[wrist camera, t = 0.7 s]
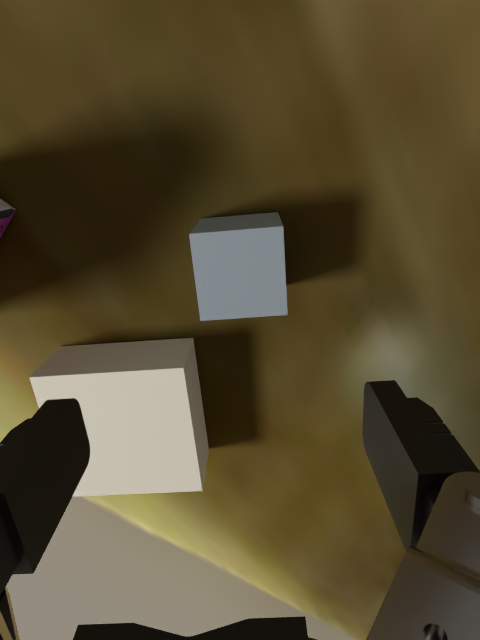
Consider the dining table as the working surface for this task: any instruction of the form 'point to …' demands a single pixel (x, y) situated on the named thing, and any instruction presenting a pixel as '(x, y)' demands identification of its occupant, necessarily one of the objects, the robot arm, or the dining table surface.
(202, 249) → the slate cube
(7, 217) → the candy bar box
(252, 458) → the dining table surface
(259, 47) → the dining table surface
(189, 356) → the cream block
